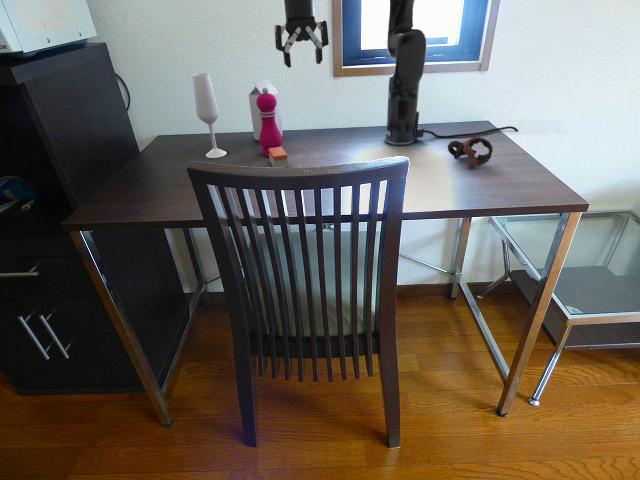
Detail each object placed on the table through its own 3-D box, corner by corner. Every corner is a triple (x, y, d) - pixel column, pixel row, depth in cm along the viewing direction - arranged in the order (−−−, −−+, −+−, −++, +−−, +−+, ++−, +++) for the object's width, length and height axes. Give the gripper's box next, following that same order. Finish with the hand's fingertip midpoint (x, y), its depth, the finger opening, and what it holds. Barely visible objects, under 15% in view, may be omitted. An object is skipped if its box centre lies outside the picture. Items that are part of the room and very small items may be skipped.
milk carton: (282, 136, 136) (277, 79, 126) (270, 143, 131) (263, 84, 121) (267, 134, 139) (260, 78, 129) (254, 140, 134) (246, 82, 124)
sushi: (282, 159, 118) (281, 146, 116) (288, 168, 112) (287, 154, 110) (269, 161, 117) (268, 148, 115) (274, 170, 111) (273, 156, 109)
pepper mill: (279, 158, 119) (272, 90, 108) (257, 157, 121) (248, 90, 110) (286, 149, 125) (280, 85, 114) (265, 149, 126) (257, 85, 115)
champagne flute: (230, 153, 124) (217, 73, 111) (213, 159, 120) (196, 77, 107) (218, 148, 128) (204, 71, 115) (201, 154, 124) (184, 75, 111)
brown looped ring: (482, 157, 115) (496, 138, 108) (480, 181, 111) (494, 163, 103) (443, 145, 115) (455, 126, 108) (439, 169, 111) (451, 151, 104)
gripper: (274, -2, 93) (282, 70, 102) (330, -6, 96) (332, 64, 105) (268, -2, 99) (275, 66, 108) (320, -6, 102) (323, 60, 111)
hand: (304, 65), depth 107 cm, fingers open, 8 cm apart
